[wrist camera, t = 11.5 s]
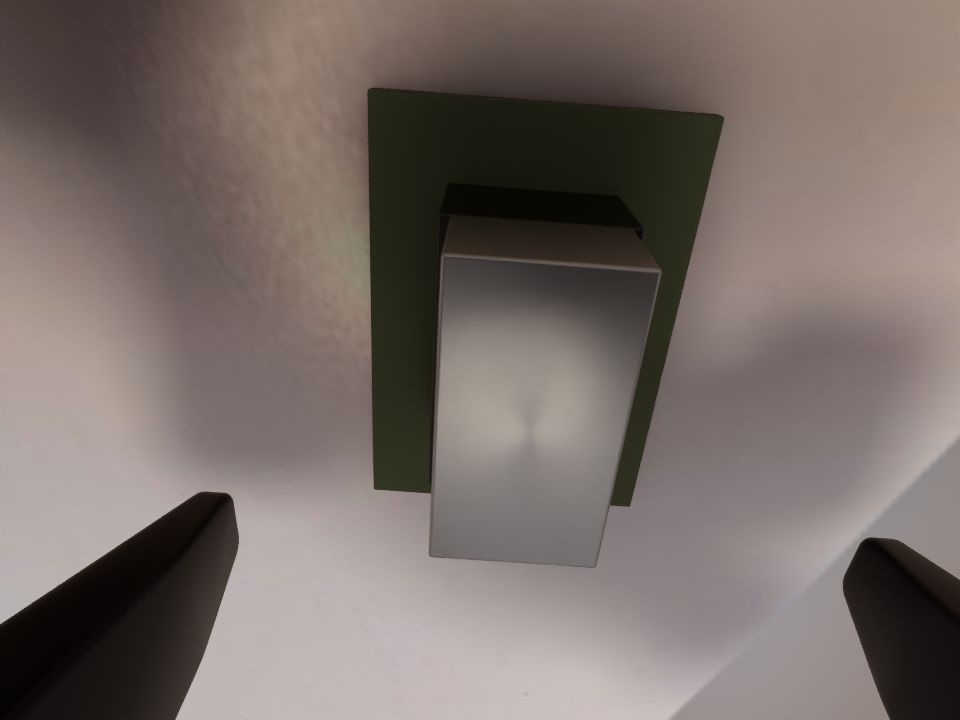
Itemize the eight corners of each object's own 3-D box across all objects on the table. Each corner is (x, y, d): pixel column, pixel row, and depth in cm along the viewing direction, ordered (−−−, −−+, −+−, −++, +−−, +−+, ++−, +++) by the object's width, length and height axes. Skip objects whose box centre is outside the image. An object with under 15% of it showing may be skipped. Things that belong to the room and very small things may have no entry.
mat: (627, 497, 17) (630, 507, 17) (376, 480, 17) (373, 490, 17) (718, 114, 12) (725, 116, 12) (370, 86, 12) (366, 89, 12)
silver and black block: (578, 432, 16) (606, 569, 12) (436, 422, 16) (417, 557, 12) (620, 195, 13) (677, 270, 9) (447, 182, 13) (426, 252, 9)
